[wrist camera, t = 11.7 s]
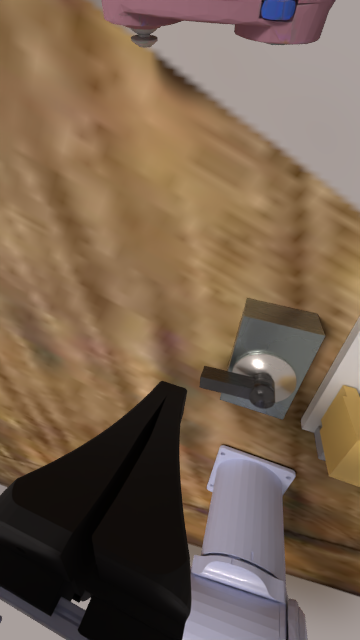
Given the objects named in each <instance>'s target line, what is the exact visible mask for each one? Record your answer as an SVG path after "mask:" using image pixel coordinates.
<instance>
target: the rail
mask: <svg viewBox="0 0 360 640" xmlns="http://www.w3.org/2000/svg"><path fill="white" fill-rule="evenodd" d="M343 385H345V386H348V387H352V388H355V389H357V392H358V394H359V396H360V316H359V318H358V320H357V322H356V323H355V325H354V327H353V329H352V330H351V332H350V334H349V336H348V337H347V339H346V341H345V343H344V345H343V346H342V348H341V350H340V352H339V353H338V355H337V357H336V359H335V360H334V362H333V364H332V366H331V367H330V369H329V371H328V373H327V374H326V376H325V378H324V380H323V382H322V383H321V385H320V387H319V389H318V390H317V392H316V394H315V396H314V397H313V399H312V401H311V403H310V404H309V406H308V408H307V410H306V411H305V413H304V415H303V417H302V419H301V426H302V429H303V430H307V431H310V432H313V433H314V436H315V441H316V447H317V453H318V458H319V459H321V460H324V461H326V460H325V455H324V450H323V445H322V440H321V435H320V429H321V428H322V422H321V419H322V417H323V416H324V414H325V413H326V411H327V409H328V408H329V406H330V405H331V403H332V402H333V400H334V398H335V397H336V395H337V394H338V392H339V391H340V389H341V387H342V386H343Z"/></svg>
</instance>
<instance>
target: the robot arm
mask: <svg viewBox="0 0 360 640" xmlns="http://www.w3.org/2000/svg"><path fill="white" fill-rule="evenodd" d="M186 394H187V390H186V389H185V388H183V387H179V386H176V385H173V384H170V383H167V382H164V381H161V382H159V384H158V385H157V386H156V387H155V388H154V389H153V390H152V391H151V392H150V393H149V394H148V395H147V396H146V397H145V398H144V399H143V400H142V401H141V402H140V403H138V404H137V405H136V406H135V407H134V408H133V409H132V410H131V411H129V412H128V413H127V414H126V415H124V416H123V417H122V418H121V419H119V420H118V421H117V422H116V423H114V424H113V425H112V426H110V427H109V428H108V429H106V430H105V431H103V432H102V433H101V434H99V435H98V436H96V437H95V438H93V439H91V440H90V441H88V442H87V443H85V444H84V445H82V446H80V447H79V448H77V449H75V450H73V451H72V452H70V453H68V454H66V455H64V456H62V457H61V458H59V459H57V460H55V461H53V462H51V463H49V464H47V465H45V466H43V467H41V468H39V469H37V470H35V471H32V472H30V473H28V474H26V475H24V476H22V477H20V478H17V479H16V480H15V481H14V482H13V483H12V484H11V485H10V486H9V487H8V488H7V489H6V490H5V491H4V492H3V493H2V494H1V495H0V599H1V600H2V601H4V602H6V603H7V604H9V605H11V606H12V607H14V608H15V609H17V610H19V611H21V612H22V613H24V614H25V615H27V616H29V617H30V618H32V619H33V620H35V621H37V622H38V623H40V624H42V625H43V626H45V627H46V628H48V629H50V630H51V631H53V632H55V633H56V634H58V635H59V636H61V637H63V638H65V639H66V640H308V639H307V629H306V620H305V614H304V613H303V611H302V610H301V608H300V607H299V606H298V603H297V601H296V600H294V599H289V600H288V595H287V591H286V579H285V552H284V526H283V500H282V496H283V494H284V493H285V491H286V490H287V488H288V487H289V485H290V484H291V482H292V481H293V480H294V478H295V476H296V475H295V471H293V470H292V469H289V468H286V467H283V466H281V465H278V464H275V463H272V462H269V461H267V460H264V459H261V458H258V457H256V456H253V455H250V454H247V453H244V452H242V451H239V450H236V449H233V448H231V447H228V446H225V445H222V446H220V448H219V451H218V454H217V457H216V460H215V463H214V466H213V469H212V472H211V475H210V479H209V482H208V485H207V489H208V490H209V491H211V492H213V493H212V498H211V504H210V509H209V514H208V520H207V525H206V531H205V536H204V541H203V547H202V552H201V556H199V555H194V559H193V564H192V567H190V557H189V550H188V544H187V537H186V530H185V522H184V514H183V505H182V494H181V483H180V462H179V436H180V423H181V419H182V416H183V411H184V406H185V400H186ZM90 597H91V600H90V602H89V604H88V607H87V609H86V610H83V609H82V608H80V607H78V606H77V605H75V604H73V603H72V602H71V600H72V599H73V600H75V601H77V602H80V601H86V600H87V599H89V598H90ZM1 621H2V617H1V616H0V622H1Z"/></svg>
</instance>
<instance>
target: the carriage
mask: <svg viewBox="0 0 360 640" xmlns="http://www.w3.org/2000/svg"><path fill="white" fill-rule="evenodd" d="M321 422H322V428H321V429H320V435H321V440H322V445H323V450H324V455H325V460H326V465H327V470H328V475H329V477H332V478H335V479H338V480H341V481H344V482H346V483H349V484H352V485H355V486H358V487H360V396H359V394H358V392H357V389H355V388H352V387H348V386H345V385H343V386H342V387H341V389H340V391H339V392H338V394H337V395H336V397H335V398H334V400H333V402H332V403H331V405H330V406H329V408H328V409H327V411H326V413H325V414H324V416H323V417H322V419H321Z"/></svg>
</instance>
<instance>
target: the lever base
mask: <svg viewBox="0 0 360 640" xmlns="http://www.w3.org/2000/svg"><path fill="white" fill-rule="evenodd" d="M324 337H325V334H324V331H323V328H322V325H321V322H320V320H319V317H318V314H315V313H311V312H307V311H302V310H298V309H293V308H289V307H285V306H280V305H276V304H272V303H267V302H263V301H258V300H254V299H250V298H247V300H246V303H245V307H244V311H243V314H242V318H241V321H240V325H239V328H238V332H237V336H236V339H235V343H234V346H233V350H232V354H231V357H230V361H229V364H228V368H227V371H229V372H233V373H237V374H242V375H246V376H251V377H253V376H255V375H258V374H265V375H268V376H270V377H271V378H272V379H273V380H274V382H275V404H274V405H273V406H272V407H270V408H267V409H262V408H258V407H256V406H254V405H253V404H252V403H251V402H250V400H248V399H244V398H240V397H236V396H232V395H228V394H224V393H221V397H220V400H223V401H226V402H230V403H233V404H236V405H239V406H242V407H245V408H248V409H251V410H254V411H258V412H261V413H264V414H267V415H270V416H273V417H276V418H279V419H282V420H283V418H284V416H285V414H286V412H287V410H288V408H289V406H290V404H291V402H292V400H293V398H294V396H295V395H296V393H297V391H298V389H299V387H300V385H301V383H302V381H303V379H304V377H305V375H306V373H307V371H308V369H309V367H310V365H311V363H312V361H313V359H314V357H315V355H316V353H317V351H318V349H319V347H320V345H321V343H322V341H323V339H324Z"/></svg>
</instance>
